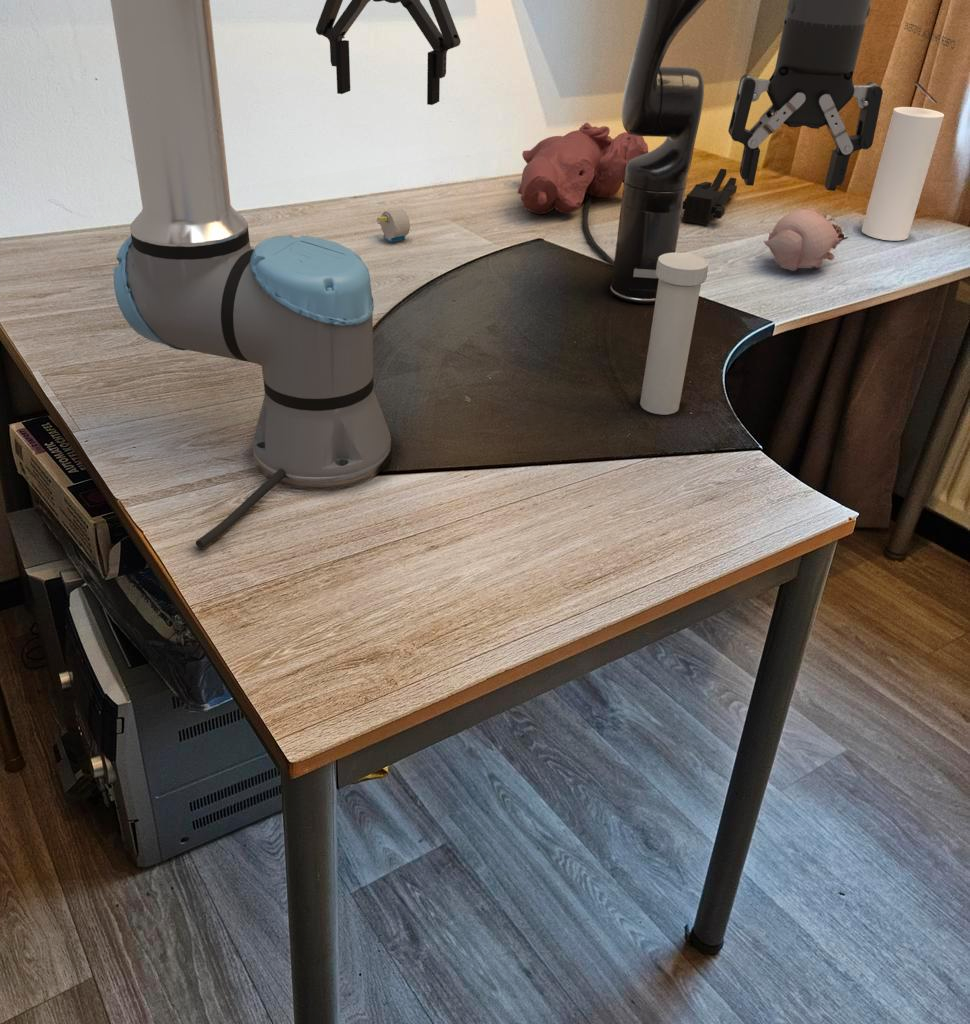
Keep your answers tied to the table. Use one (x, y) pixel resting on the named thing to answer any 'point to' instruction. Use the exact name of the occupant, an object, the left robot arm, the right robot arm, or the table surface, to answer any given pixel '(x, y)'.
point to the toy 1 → (708, 200)
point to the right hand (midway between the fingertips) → (788, 186)
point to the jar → (669, 347)
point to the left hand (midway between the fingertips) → (388, 97)
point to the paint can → (902, 168)
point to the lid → (682, 269)
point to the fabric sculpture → (576, 168)
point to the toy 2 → (804, 239)
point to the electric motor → (394, 225)
